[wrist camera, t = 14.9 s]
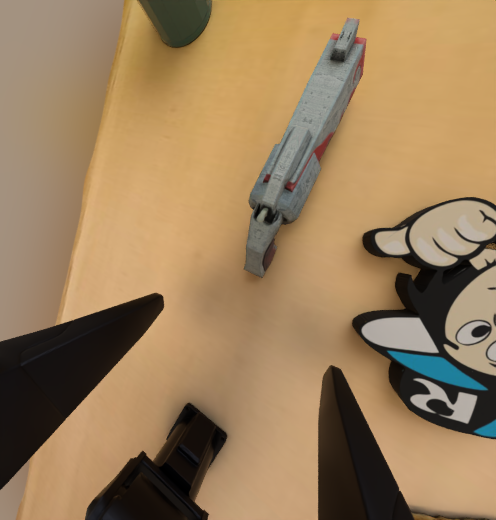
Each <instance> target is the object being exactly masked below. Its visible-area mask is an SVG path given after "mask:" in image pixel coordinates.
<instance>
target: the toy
mask: <svg viewBox="0 0 496 520" xmlns="http://www.w3.org/2000/svg"><path fill="white" fill-rule="evenodd" d="M490 243H496V205H494V204H493V203H491V202H489V201H487V200H484V199H480V198H476V197H466V198H459V199H454V200H449V201H445V202H442V203H439V204H437V205H434V206H431V207H428V208H426V209H423V210H421V211H419V212H416V213H415V214H413V215H412V216H410V217H408V218H407V219H405V220H404V221H402V222H401V223H400V224H399V225H397V226H395V227H393V228H377V229H374V230H371V231H368V232H366V233H364V236H363V245H364V247H365V249H366V250H367V251H368V252H369V253H371V254H373V255H375V256H379V257H393V258H400V257H401V258H402V259H403V260H404V261H406V262H407V263H408V264H410V265H413V266H416V267H418V268H421V269H422V270H421V271H420V272H419V275H418V276H417V278H416V279H415V281H414V282H413V280H412V276H411V275H409V274H403V273H398V275H397V278H396V283H395V284H396V285H395V287H396V291H397V293H398V295H399V297H400V299H401V301H402V303H403V304H404V306H405V307H406V309H404V310H380V311H371V312H367V313H363V314H361V315H358V316H357V317H355V318H354V319H353V323H352V324H353V327H354V329H355V330H356V332H357V333H358V334H359V335H360V337H361V338H362V339H363V340H364V341H365V342H366V343H367V344H368V345H369V346H370V347H372V348H373V349H374V350H376V351H377V352H379V353H380V354H382V355H383V356H385V357H387V358H388V359H390V360H392V362H391V364H390V368H389V380H390V383H391V385H392V387H393V388H394V390H395V391H396V392H397V394H398V395H399V397H400V398H401V399H402V401H403V402H404V403H405V405H406V406H407V407H408V409H409V410H410V411H412V412H414V413H415V414H416V415H418V416H420V417H421V418H423V419H425V420H427V421H429V422H431V423H434V424H436V425H438V426H441V427H445V428H447V429H451V430H454V431H458V432H462V433H466V434H472V435H476V436H481V437H484V438H485V437H486V438H490V439H496V250H494V249H488V248H486V245H488V244H490Z"/></svg>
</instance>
